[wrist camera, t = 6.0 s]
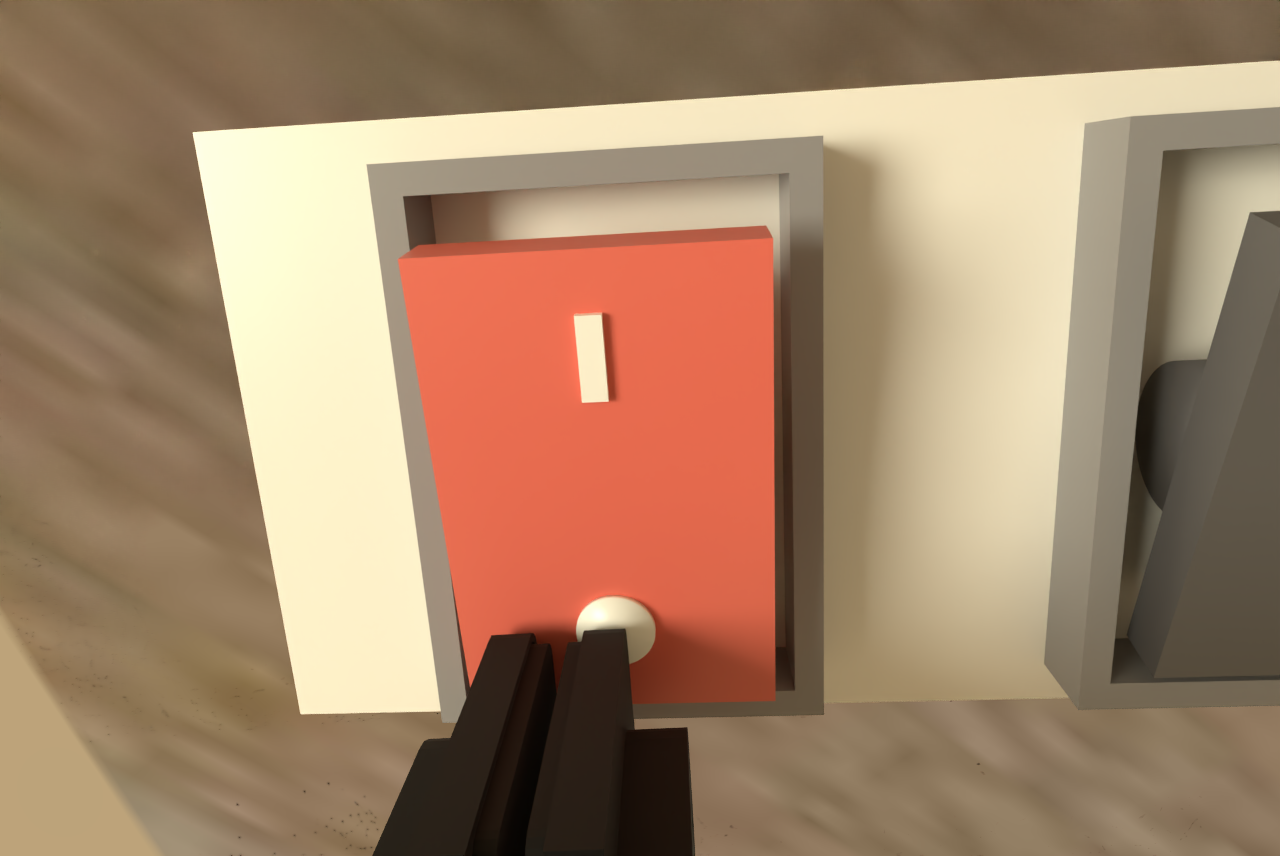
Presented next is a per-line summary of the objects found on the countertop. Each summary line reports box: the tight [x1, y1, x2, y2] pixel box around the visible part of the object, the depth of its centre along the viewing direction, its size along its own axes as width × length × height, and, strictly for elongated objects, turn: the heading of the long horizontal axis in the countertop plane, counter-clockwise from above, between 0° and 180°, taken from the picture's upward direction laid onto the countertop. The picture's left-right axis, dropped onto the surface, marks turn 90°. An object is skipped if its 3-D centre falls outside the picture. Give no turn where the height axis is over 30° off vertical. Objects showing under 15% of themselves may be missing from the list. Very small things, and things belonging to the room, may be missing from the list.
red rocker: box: [398, 225, 776, 704], centre depth 11 cm, size 4×6×2 cm, turn 3°
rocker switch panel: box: [193, 61, 1280, 723], centre depth 14 cm, size 20×9×5 cm, turn 93°
